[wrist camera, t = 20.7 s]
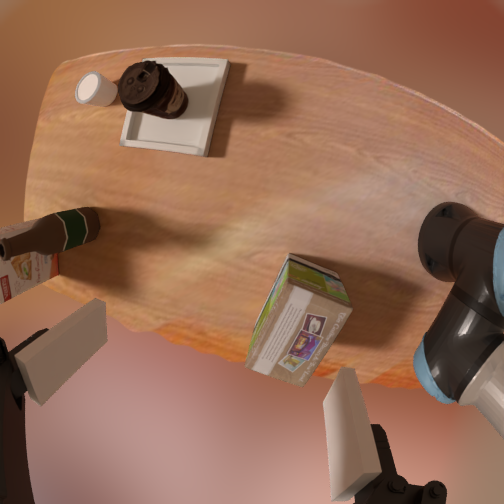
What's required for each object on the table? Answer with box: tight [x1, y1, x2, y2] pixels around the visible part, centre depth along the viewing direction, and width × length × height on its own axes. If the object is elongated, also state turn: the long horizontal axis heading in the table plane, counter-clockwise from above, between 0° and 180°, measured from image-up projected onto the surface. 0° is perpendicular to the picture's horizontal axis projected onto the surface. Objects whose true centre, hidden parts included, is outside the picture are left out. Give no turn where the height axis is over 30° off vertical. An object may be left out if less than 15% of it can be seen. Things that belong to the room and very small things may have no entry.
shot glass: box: [75, 71, 117, 107], centre depth 40 cm, size 7×7×7 cm
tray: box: [119, 57, 230, 157], centre depth 41 cm, size 17×18×2 cm
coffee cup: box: [118, 60, 189, 119], centre depth 35 cm, size 9×8×13 cm
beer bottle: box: [0, 207, 100, 261], centre depth 39 cm, size 8×8×24 cm
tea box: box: [245, 253, 353, 387], centre depth 42 cm, size 15×10×15 cm, turn 159°
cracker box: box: [0, 219, 59, 304], centre depth 43 cm, size 14×6×21 cm, turn 172°
